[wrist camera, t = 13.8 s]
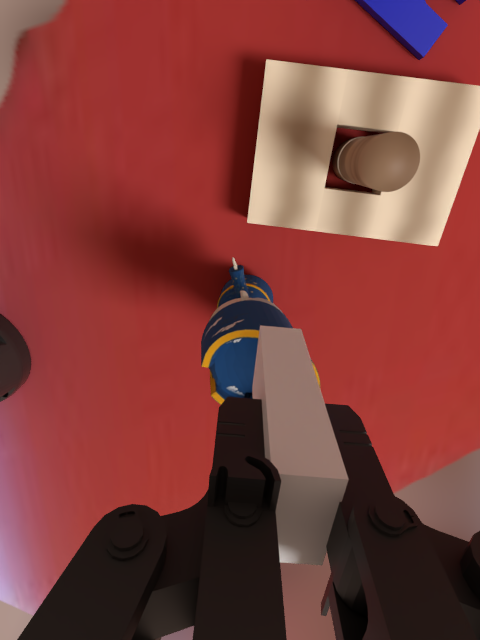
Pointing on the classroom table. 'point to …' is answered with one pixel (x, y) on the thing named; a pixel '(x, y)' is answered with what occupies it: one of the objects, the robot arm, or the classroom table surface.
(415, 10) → the mount
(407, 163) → the peg
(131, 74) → the classroom table surface
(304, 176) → the board
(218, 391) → the blue tall vessel
